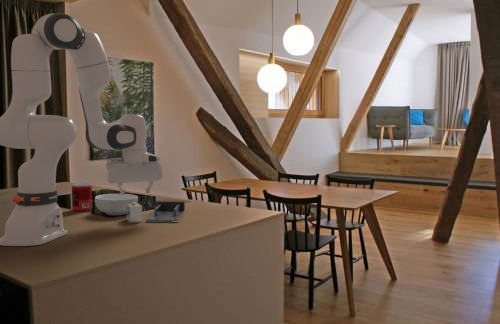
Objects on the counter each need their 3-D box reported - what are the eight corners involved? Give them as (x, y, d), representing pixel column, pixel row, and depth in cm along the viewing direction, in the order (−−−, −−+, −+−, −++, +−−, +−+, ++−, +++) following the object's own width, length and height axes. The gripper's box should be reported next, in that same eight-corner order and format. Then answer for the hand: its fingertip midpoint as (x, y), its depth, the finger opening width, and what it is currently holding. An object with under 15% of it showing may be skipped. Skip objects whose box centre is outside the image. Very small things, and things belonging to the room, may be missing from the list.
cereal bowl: (122, 219, 179) (122, 200, 178) (86, 215, 184) (85, 198, 183) (145, 211, 195) (145, 194, 194) (112, 208, 200) (111, 192, 199)
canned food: (95, 208, 199) (94, 183, 198) (86, 212, 191) (86, 185, 190) (77, 208, 199) (77, 182, 198) (68, 211, 191) (68, 185, 191)
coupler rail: (178, 222, 174) (178, 210, 173) (145, 222, 174) (145, 210, 173) (185, 211, 196) (185, 200, 195) (156, 211, 196) (156, 200, 195)
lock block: (142, 222, 174) (142, 204, 174) (130, 222, 172) (130, 205, 172) (137, 218, 181) (137, 201, 180) (126, 219, 179) (126, 202, 178)
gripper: (107, 159, 167) (108, 197, 169) (163, 157, 176) (163, 193, 177) (104, 157, 173) (105, 193, 174) (159, 155, 181) (159, 190, 183)
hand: (135, 193), depth 176 cm, fingers open, 8 cm apart
